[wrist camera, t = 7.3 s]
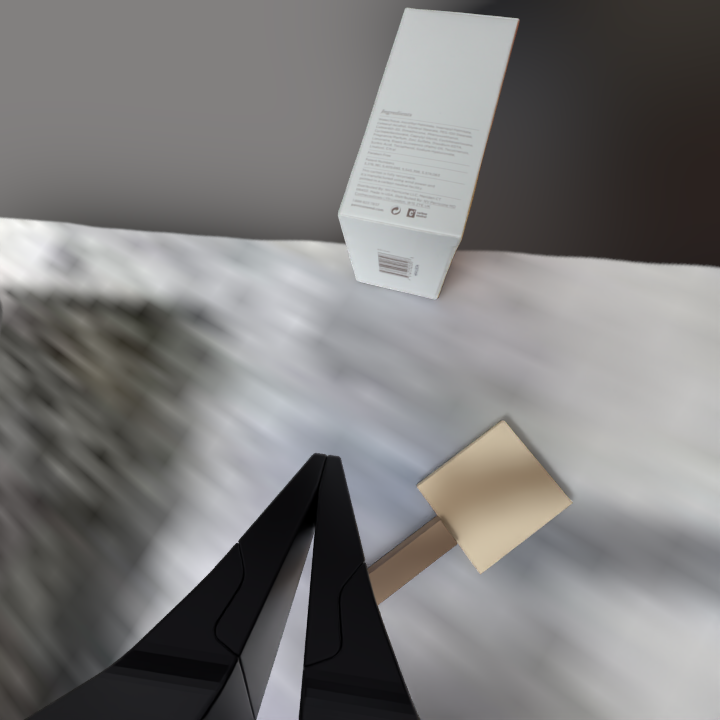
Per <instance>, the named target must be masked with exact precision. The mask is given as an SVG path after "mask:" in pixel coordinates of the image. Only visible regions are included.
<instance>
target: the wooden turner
mask: <svg viewBox="0 0 720 720" xmlns="http://www.w3.org/2000/svg"><path fill="white" fill-rule="evenodd" d="M417 487H418V489H419V490H420V492H421V493H422V494H423V496H424V497H425V499H426V500H427V501H428V503H429V504H430V505H431V507H432V508H433V510H434V511H435V512H436V514H437V516H436V517H434V518H433V519H432V520H430V521H429V522H428V523H427V524H425V525H424V526H423V527H421V528H420V529H419V530H417V531H416V532H415V533H413V534H412V535H411V536H410V537H408V538H407V539H406V540H404V541H403V542H402V543H400V544H399V545H398V546H396V547H395V548H394V549H393V550H391V551H390V552H389V553H387V554H386V555H385V556H383V557H382V558H381V559H380V560H378V561H377V562H376V563H374V564H373V565H372V566H370V567H369V568H368V573H369V577H370V581H371V585H372V588H373V592H374V596H375V599H376V602H377V605H379V604H380V603H381V602H383V601H384V600H385V599H387V598H388V597H389V596H390V595H392V594H393V593H394V592H396V591H397V590H398V589H400V588H401V587H402V586H403V585H405V584H406V583H407V582H409V581H410V580H411V579H413V578H414V577H415V576H416V575H418V574H419V573H420V572H422V571H423V570H424V569H425V568H427V567H428V566H429V565H431V564H432V563H433V562H435V561H436V560H437V559H438V558H440V557H441V556H442V555H444V554H445V553H446V552H448V551H449V550H450V549H451V548H453V547H454V546H455V545H457V543H458V544H459V546H460V547H461V548H462V550H463V551H464V552H465V554H466V555H467V557H468V558H469V559H470V561H471V562H472V564H473V565H474V566H475V568H476V569H477V570H478V572H479V573H480V574H482V573H483V572H484V571H486V570H487V569H488V568H489V567H491V566H492V565H493V564H495V563H496V562H497V561H499V560H500V559H501V558H502V557H504V556H505V555H506V554H508V553H509V552H510V551H511V550H513V549H514V548H515V547H517V546H518V545H519V544H520V543H522V542H523V541H524V540H526V539H527V538H528V537H529V536H531V535H532V534H533V533H535V532H536V531H537V530H539V529H540V528H541V527H542V526H544V525H545V524H546V523H548V522H549V521H550V520H551V519H553V518H554V517H555V516H557V515H558V514H559V513H560V512H562V511H563V510H564V509H566V508H567V507H568V506H569V505H571V504H572V503H573V502H572V501H571V500H570V499H569V498H568V496H567V495H566V494H565V493H564V492H563V490H562V489H561V488H560V487H559V486H558V484H557V483H556V482H555V481H554V480H553V478H552V477H551V476H550V475H549V474H548V472H547V471H546V470H545V469H544V468H543V466H542V465H541V464H540V463H539V462H538V460H537V459H536V458H535V457H534V456H533V454H532V453H531V452H530V451H529V450H528V448H527V447H526V446H525V445H524V444H523V442H522V441H521V440H520V439H519V438H518V436H517V435H516V434H515V433H514V432H513V430H512V429H511V428H510V427H509V426H508V424H507V423H506V422H505V421H500V422H499V423H498V424H496V425H495V426H494V427H492V428H491V429H490V430H488V431H487V432H486V433H484V434H483V435H482V436H480V437H479V438H478V439H476V440H475V441H474V442H472V443H471V444H470V445H468V446H467V447H466V448H465V449H463V450H462V451H461V452H459V453H458V454H457V455H455V456H454V457H453V458H451V459H450V460H449V461H447V462H446V463H445V464H443V465H442V466H441V467H439V468H438V469H437V470H435V471H434V472H433V473H431V474H430V475H429V476H428V477H426V478H425V479H424V480H422V481H421V482H420V483H418V484H417ZM456 541H457V542H456Z"/></svg>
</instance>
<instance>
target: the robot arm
mask: <svg viewBox="0 0 720 720" xmlns="http://www.w3.org/2000/svg"><path fill="white" fill-rule="evenodd" d="M314 531H315V534H314ZM313 535H314V546H313V558H312V570H311V581H310V593H309V605H308V617H307V629H306V641H305V653H304V665H303V676H302V688H301V699H300V710H299V720H420V718H419V715H418V713H417V711H416V709H415V706H414V704H413V702H412V699H411V697H410V694H409V692H408V689H407V686H406V684H405V681H404V678H403V676H402V673H401V670H400V667H399V665H398V662H397V659H396V656H395V654H394V651H393V648H392V645H391V643H390V640H389V637H388V634H387V632H386V629H385V626H384V623H383V620H382V617H381V614H380V611H379V608H378V605H377V602H376V599H375V596H374V592H373V588H372V585H371V581H370V577H369V573H368V569H367V565H366V563H365V557H364V553H363V549H362V545H361V540H360V536H359V532H358V528H357V524H356V519H355V515H354V511H353V507H352V503H351V499H350V494H349V490H348V486H347V482H346V478H345V474H344V469H343V465H342V461H341V458H340V457H339V456H334V455H328V456H327V455H326V454H320V453H314V454H313V455H312V456H311V457H310V458H309V460H308V461H307V462H306V463H305V464H304V465H303V466H302V468H301V469H300V470H299V471H298V472H297V473H296V475H295V476H294V477H293V478H292V479H291V480H290V482H289V483H288V484H287V485H286V486H285V487H284V488H283V490H282V491H281V492H280V493H279V494H278V495H277V497H276V498H275V499H274V500H273V501H272V502H271V504H270V505H269V506H268V507H267V508H266V509H265V510H264V512H263V513H262V514H261V515H260V516H259V517H258V519H257V520H256V521H255V522H254V523H253V524H252V525H251V527H250V528H249V529H248V530H247V531H246V532H245V534H244V535H243V536H242V537H241V538H240V539H239V541H238V542H239V543H236V544H235V545H234V546H233V547H232V548H231V550H230V551H229V552H228V553H227V554H226V555H225V557H224V558H223V559H222V560H221V561H220V562H219V563H218V564H217V565H216V566H215V568H214V569H213V570H212V571H211V572H210V573H209V574H208V575H207V576H206V577H205V578H204V579H203V580H202V581H201V582H200V583H199V584H198V585H197V586H196V587H195V588H194V589H193V590H192V591H191V592H190V593H189V594H188V595H187V596H186V597H185V598H184V599H183V600H182V601H181V602H180V603H179V604H178V605H176V606H175V607H174V608H173V609H172V610H171V611H170V612H169V613H168V614H167V615H166V616H165V617H164V618H163V619H162V620H161V621H160V622H159V623H158V624H157V625H156V626H155V627H154V628H153V629H152V630H150V631H149V632H148V633H147V634H146V635H145V636H144V637H143V638H142V639H141V640H140V641H139V642H138V643H137V644H136V645H135V646H134V647H133V648H131V649H130V650H129V651H128V652H127V653H126V654H125V655H123V656H122V657H121V658H120V659H118V660H117V661H116V662H115V663H113V664H112V665H111V666H109V667H108V668H106V669H105V670H104V671H102V672H101V673H99V674H98V675H96V676H95V677H93V678H91V679H90V680H88V681H86V682H85V683H83V684H82V685H80V686H78V687H77V688H75V689H73V690H72V691H70V692H68V693H67V694H65V695H64V696H62V697H60V698H59V699H57V700H55V701H54V702H52V703H50V704H49V705H47V706H46V707H44V708H42V709H41V710H39V711H37V712H36V713H34V714H33V715H31V716H29V717H28V718H26V719H24V720H256V719H257V715H258V712H259V709H260V706H261V702H262V699H263V696H264V693H265V690H266V686H267V683H268V680H269V677H270V674H271V670H272V667H273V664H274V661H275V657H276V654H277V651H278V648H279V645H280V641H281V638H282V635H283V632H284V628H285V625H286V622H287V619H288V616H289V612H290V609H291V606H292V603H293V599H294V596H295V593H296V590H297V587H298V583H299V580H300V577H301V574H302V571H303V567H304V564H305V561H306V558H307V554H308V551H309V548H310V545H311V542H312V538H313Z"/></svg>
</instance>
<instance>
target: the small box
mask: <svg viewBox="0 0 720 720" xmlns="http://www.w3.org/2000/svg"><path fill="white" fill-rule="evenodd" d="M518 25H519V19H517V18H505V17H497V16H486V15H477V14H467V13H456V12H446V11H434V10H420V9H412V8H406V9H405V11H404V14H403V17H402V20H401V23H400V26H399V29H398V32H397V35H396V38H395V41H394V45H393V48H392V51H391V54H390V57H389V60H388V63H387V66H386V69H385V72H384V75H383V78H382V81H381V84H380V87H379V90H378V94H377V97H376V100H375V103H374V106H373V110H372V113H371V116H370V119H369V122H368V125H367V128H366V132H365V134H364V137H363V141H362V144H361V147H360V150H359V153H358V156H357V158H356V161H355V164H354V167H353V170H352V173H351V176H350V179H349V182H348V185H347V188H346V191H345V195H344V198H343V201H342V203H341V206H340V209H339V211H338V216H339V220H340V224H341V228H342V231H343V235H344V238H345V242H346V246H347V249H348V253H349V256H350V260H351V263H352V267H353V270H354V273H355V277H356V280H357V281H359V282H363V283H366V284H371V285H374V286H378V287H383V288H388V289H392V290H396V291H401V292H405V293H409V294H413V295H418V296H422V297H426V298H430V299H434V300H436V299H437V298H438V297H439V294H440V291H441V288H442V285H443V283H444V280H445V277H446V274H447V272H448V269H449V267H450V264H451V262H452V259H453V257H454V255H455V252H456V250H457V248H458V246H459V244H460V242H461V240H462V238H463V234H464V230H465V226H466V223H467V219H468V216H469V212H470V208H471V204H472V201H473V197H474V192H475V189H476V184H477V181H478V176H479V172H480V168H481V164H482V160H483V156H484V153H485V149H486V145H487V141H488V138H489V134H490V130H491V127H492V123H493V119H494V115H495V112H496V107H497V104H498V100H499V96H500V92H501V89H502V85H503V81H504V77H505V73H506V70H507V66H508V62H509V58H510V55H511V51H512V47H513V43H514V40H515V36H516V33H517V29H518Z"/></svg>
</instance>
